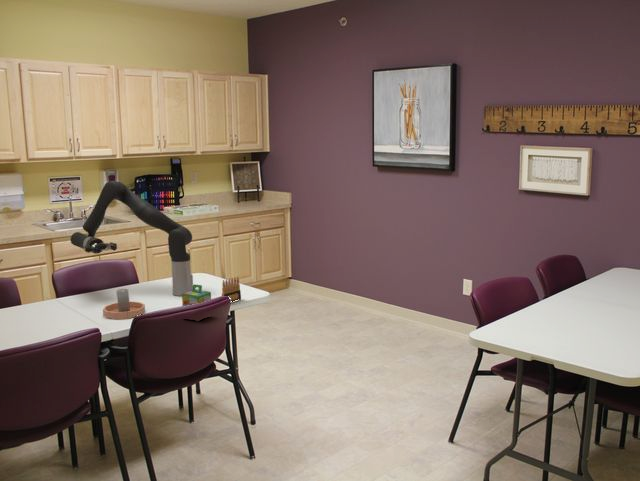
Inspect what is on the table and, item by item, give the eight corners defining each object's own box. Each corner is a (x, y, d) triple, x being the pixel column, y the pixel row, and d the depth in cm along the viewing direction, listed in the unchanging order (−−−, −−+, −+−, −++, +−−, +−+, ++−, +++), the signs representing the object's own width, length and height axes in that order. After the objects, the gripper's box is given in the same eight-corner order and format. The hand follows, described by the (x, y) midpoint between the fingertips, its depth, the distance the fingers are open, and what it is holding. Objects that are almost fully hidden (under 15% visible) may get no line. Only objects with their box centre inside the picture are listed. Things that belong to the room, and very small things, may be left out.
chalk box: (182, 319, 270) (180, 286, 267) (195, 314, 278) (194, 281, 275) (199, 322, 266) (197, 288, 263) (212, 316, 274) (211, 284, 271)
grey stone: (128, 309, 284) (126, 288, 282) (131, 312, 279) (129, 290, 277) (117, 311, 281) (115, 290, 279) (120, 314, 277) (118, 292, 275)
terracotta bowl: (134, 305, 292) (134, 299, 292) (151, 313, 279) (151, 307, 278) (97, 312, 281) (97, 306, 281) (113, 321, 268) (112, 315, 267)
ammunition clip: (224, 305, 292) (223, 280, 290) (221, 304, 293) (220, 279, 291) (241, 300, 300) (240, 276, 298) (238, 299, 301) (237, 275, 299)
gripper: (78, 239, 300) (90, 243, 288) (107, 235, 309) (120, 239, 297) (79, 254, 301) (91, 259, 289) (108, 250, 310) (121, 255, 298)
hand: (106, 249), depth 293 cm, fingers open, 8 cm apart
